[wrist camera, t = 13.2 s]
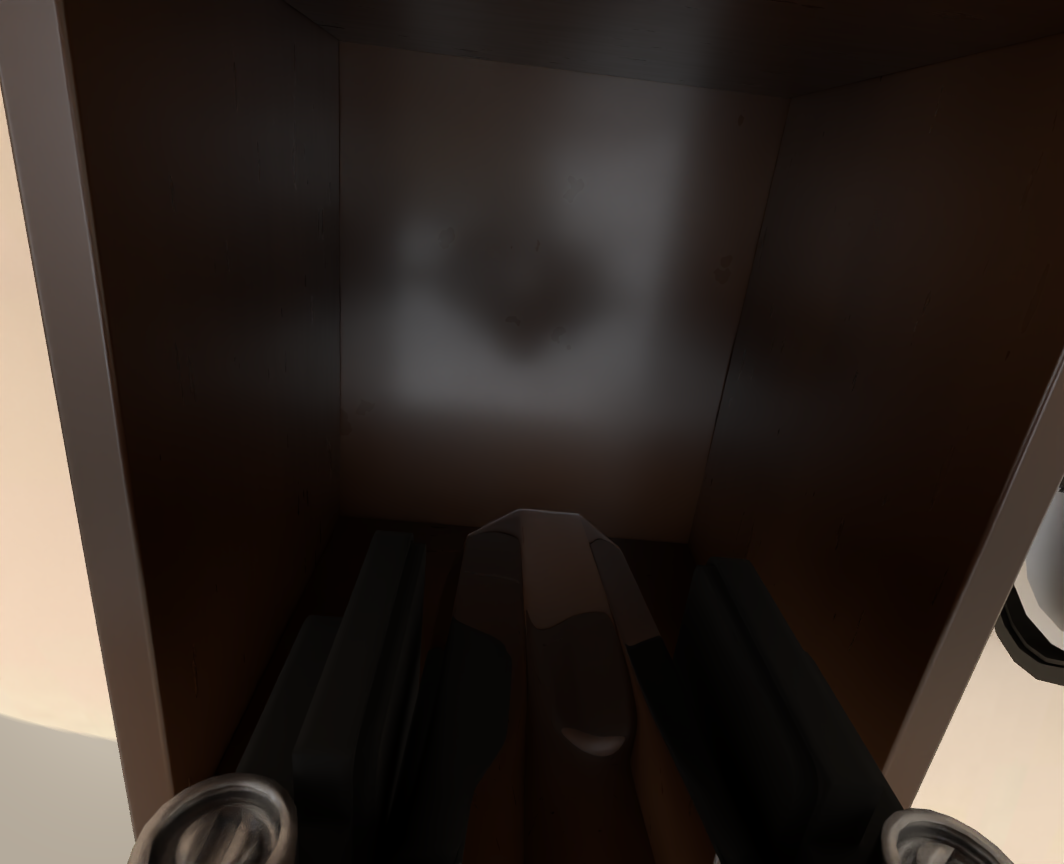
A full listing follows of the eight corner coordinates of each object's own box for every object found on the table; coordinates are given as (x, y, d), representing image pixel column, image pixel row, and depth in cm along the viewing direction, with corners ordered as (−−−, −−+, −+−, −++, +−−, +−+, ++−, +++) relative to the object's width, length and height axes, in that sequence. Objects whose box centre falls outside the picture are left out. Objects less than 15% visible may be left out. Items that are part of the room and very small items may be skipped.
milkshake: (733, 490, 11) (1844, 2043, 2) (590, 708, 13) (827, 2058, 4) (491, 386, 10) (468, 2470, 1) (372, 637, 12) (-25, 2225, 3)
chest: (699, 552, 24) (868, 904, 12) (323, 522, 23) (138, 872, 12) (814, 72, 18) (1328, -84, 7) (315, 7, 17) (-74, -302, 6)
